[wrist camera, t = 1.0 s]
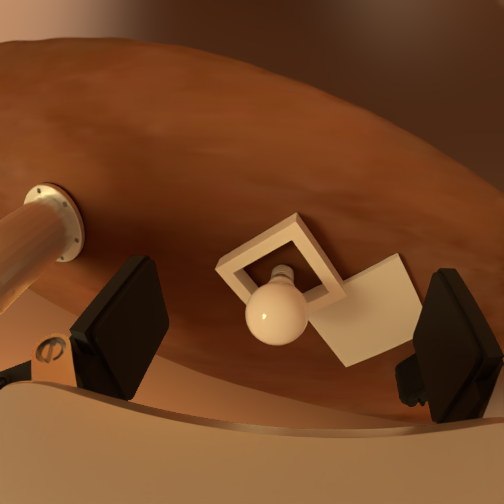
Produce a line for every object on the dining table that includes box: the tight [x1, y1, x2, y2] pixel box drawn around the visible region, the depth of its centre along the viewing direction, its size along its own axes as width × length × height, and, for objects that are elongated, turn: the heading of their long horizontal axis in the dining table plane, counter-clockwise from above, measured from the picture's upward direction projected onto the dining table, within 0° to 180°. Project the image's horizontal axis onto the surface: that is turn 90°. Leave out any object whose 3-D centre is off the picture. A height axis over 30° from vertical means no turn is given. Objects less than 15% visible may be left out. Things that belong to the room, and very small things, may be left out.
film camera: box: [395, 353, 428, 407], centre depth 37 cm, size 15×10×9 cm, turn 136°
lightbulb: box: [245, 265, 309, 345], centre depth 33 cm, size 6×6×11 cm
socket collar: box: [215, 212, 347, 314], centre depth 37 cm, size 11×11×2 cm
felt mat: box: [308, 253, 422, 367], centre depth 39 cm, size 14×14×1 cm
